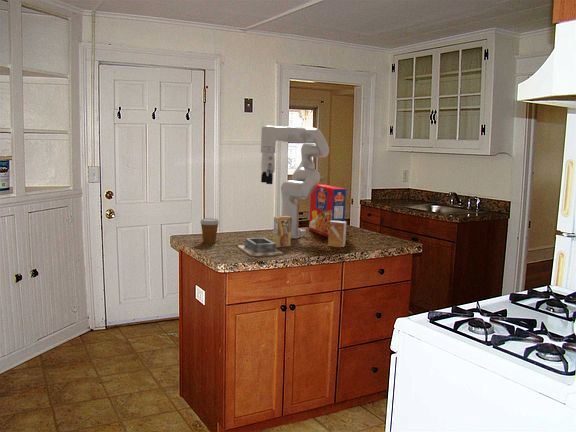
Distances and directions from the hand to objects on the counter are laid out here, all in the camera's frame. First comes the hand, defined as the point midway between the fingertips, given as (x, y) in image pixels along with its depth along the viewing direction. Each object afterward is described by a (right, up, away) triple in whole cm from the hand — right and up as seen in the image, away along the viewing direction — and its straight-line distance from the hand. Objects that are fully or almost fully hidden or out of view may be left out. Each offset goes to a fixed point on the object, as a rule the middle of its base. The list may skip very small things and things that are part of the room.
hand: (266, 183), depth 287 cm
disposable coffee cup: (-30, -31, -2) cm, 43 cm away
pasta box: (+33, -28, +37) cm, 57 cm away
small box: (+37, -33, +2) cm, 49 cm away
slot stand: (-3, -34, -18) cm, 39 cm away
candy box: (+8, -33, -4) cm, 34 cm away
